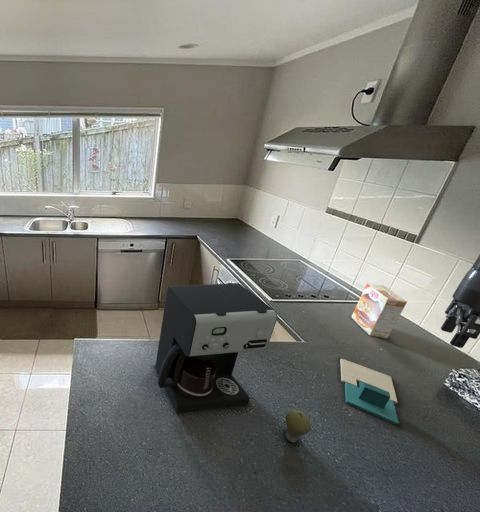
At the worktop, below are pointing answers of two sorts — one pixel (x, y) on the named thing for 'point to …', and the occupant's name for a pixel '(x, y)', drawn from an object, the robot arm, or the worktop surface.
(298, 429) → the light bulb
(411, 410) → the worktop surface
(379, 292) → the coffeecake box
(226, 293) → the coffee maker
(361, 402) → the teal tile
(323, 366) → the worktop surface
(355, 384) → the beige tile
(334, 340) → the worktop surface
